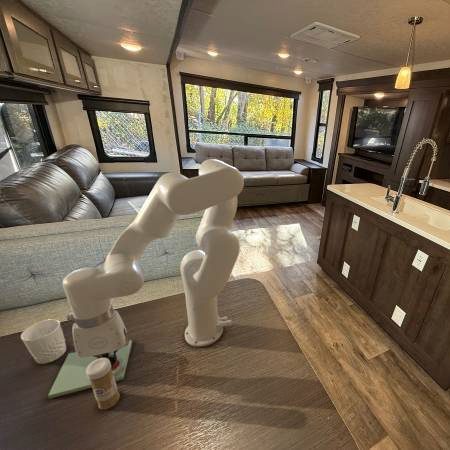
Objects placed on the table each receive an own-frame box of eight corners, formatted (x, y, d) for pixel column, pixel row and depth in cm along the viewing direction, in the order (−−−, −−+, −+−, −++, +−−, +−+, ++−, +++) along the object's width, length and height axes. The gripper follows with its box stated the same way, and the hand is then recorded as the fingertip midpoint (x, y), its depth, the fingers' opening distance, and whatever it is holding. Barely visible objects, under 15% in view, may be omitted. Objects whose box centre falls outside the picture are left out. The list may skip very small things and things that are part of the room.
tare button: (120, 362, 72) (118, 358, 71) (117, 371, 69) (116, 367, 69) (106, 365, 71) (105, 361, 70) (103, 375, 68) (102, 371, 67)
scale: (132, 342, 80) (130, 335, 79) (123, 379, 69) (121, 372, 68) (69, 356, 74) (66, 349, 73) (49, 399, 63) (45, 391, 62)
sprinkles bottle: (96, 413, 61) (82, 377, 56) (100, 395, 65) (88, 360, 60) (118, 406, 63) (107, 370, 58) (121, 389, 67) (111, 354, 62)
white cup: (47, 369, 70) (35, 343, 66) (25, 362, 71) (12, 336, 67) (76, 346, 77) (67, 322, 73) (55, 340, 78) (45, 316, 75)
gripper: (49, 332, 56) (71, 385, 63) (126, 318, 62) (139, 368, 69) (63, 310, 62) (82, 360, 70) (132, 299, 68) (143, 346, 75)
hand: (110, 364), depth 69 cm, fingers closed
